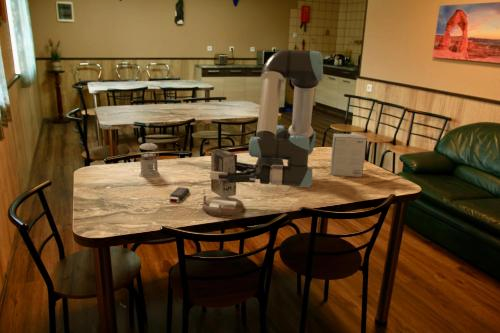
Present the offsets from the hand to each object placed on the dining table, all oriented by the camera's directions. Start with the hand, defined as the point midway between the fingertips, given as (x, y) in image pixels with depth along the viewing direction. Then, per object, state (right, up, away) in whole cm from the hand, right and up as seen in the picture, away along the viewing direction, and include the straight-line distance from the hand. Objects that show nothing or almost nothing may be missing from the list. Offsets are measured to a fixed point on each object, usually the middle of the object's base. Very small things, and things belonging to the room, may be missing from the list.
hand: (213, 170), depth 155 cm
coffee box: (+4, -9, +3) cm, 10 cm away
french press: (-33, -2, +39) cm, 51 cm away
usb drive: (-16, -12, +14) cm, 24 cm away
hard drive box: (+62, -3, +50) cm, 80 cm away
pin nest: (+4, -15, +5) cm, 16 cm away
